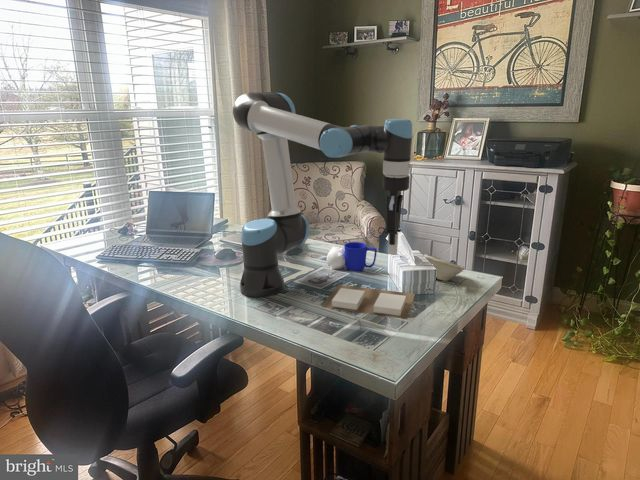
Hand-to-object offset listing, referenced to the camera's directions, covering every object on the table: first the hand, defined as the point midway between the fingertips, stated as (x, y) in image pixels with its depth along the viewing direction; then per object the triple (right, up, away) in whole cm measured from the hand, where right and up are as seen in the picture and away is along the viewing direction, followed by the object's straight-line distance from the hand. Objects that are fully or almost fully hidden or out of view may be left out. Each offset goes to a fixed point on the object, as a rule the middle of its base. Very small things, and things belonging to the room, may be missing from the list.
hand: (392, 253), depth 134 cm
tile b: (+1, -14, +6) cm, 15 cm away
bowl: (+22, -10, +25) cm, 35 cm away
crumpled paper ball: (-14, -7, +39) cm, 42 cm away
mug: (-7, -8, +35) cm, 36 cm away
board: (-6, -16, +7) cm, 19 cm away
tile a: (-11, -13, +10) cm, 20 cm away
